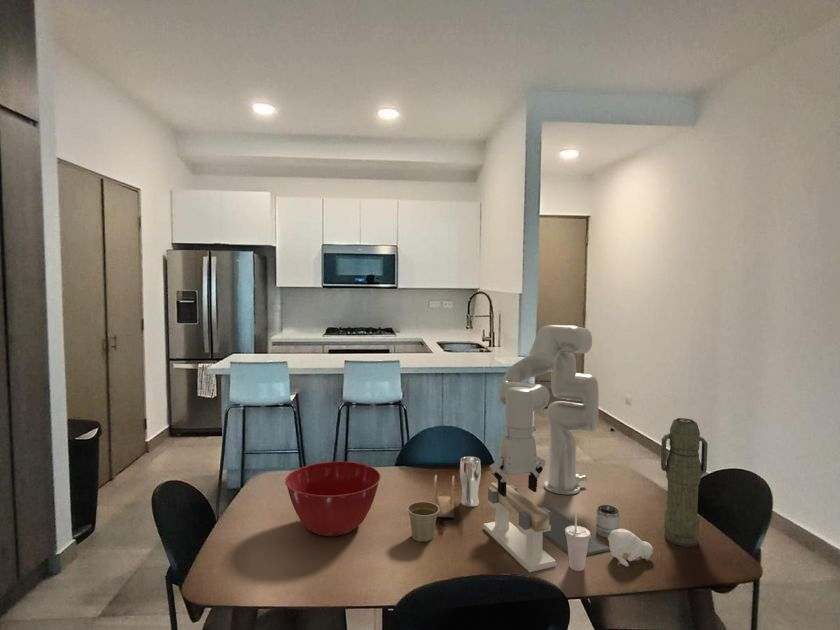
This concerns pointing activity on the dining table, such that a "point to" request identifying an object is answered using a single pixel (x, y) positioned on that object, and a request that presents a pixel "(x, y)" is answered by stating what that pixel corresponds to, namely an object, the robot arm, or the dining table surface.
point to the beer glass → (470, 480)
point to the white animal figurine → (628, 546)
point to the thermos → (683, 481)
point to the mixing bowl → (332, 495)
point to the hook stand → (518, 536)
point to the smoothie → (577, 545)
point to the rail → (523, 508)
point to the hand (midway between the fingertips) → (517, 492)
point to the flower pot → (423, 520)
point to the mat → (559, 537)
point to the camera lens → (607, 520)
